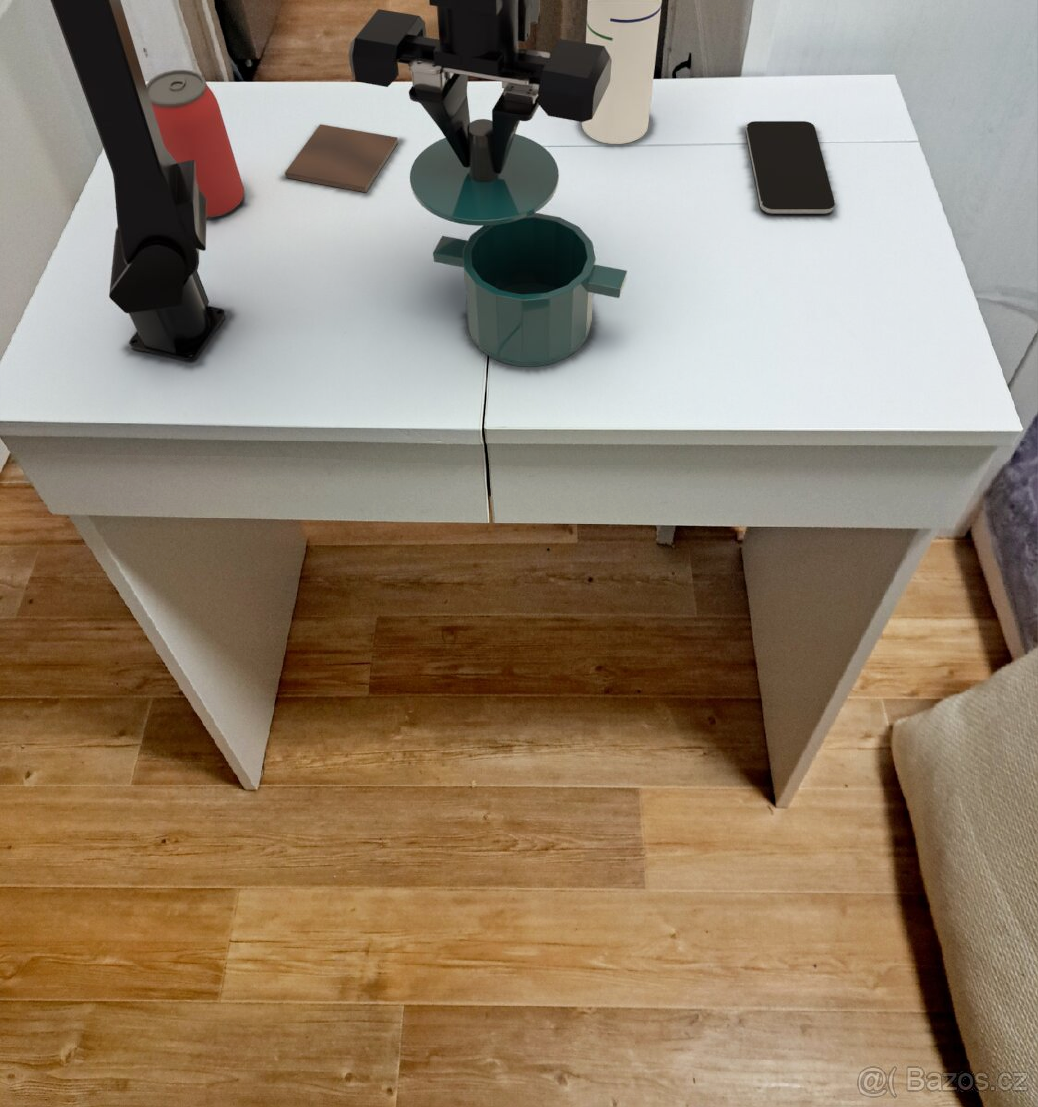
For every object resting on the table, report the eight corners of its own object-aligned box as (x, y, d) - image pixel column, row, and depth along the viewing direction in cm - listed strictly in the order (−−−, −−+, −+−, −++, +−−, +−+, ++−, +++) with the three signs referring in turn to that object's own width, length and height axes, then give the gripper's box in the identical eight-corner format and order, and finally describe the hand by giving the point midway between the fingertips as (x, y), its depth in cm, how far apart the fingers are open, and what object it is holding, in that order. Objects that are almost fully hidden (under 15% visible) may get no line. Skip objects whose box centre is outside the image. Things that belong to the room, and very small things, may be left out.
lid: (533, 245, 72) (533, 187, 68) (388, 215, 74) (380, 158, 70) (575, 156, 78) (578, 98, 74) (441, 131, 81) (436, 74, 76)
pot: (602, 384, 79) (608, 317, 73) (423, 346, 82) (413, 278, 76) (632, 300, 85) (639, 231, 78) (463, 266, 88) (458, 198, 81)
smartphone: (813, 120, 98) (837, 208, 90) (812, 126, 99) (835, 214, 91) (745, 120, 99) (762, 208, 90) (743, 126, 99) (760, 214, 91)
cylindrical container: (643, 147, 98) (673, -129, 77) (577, 140, 98) (588, -135, 77) (651, 109, 101) (682, -163, 80) (587, 102, 102) (601, -169, 81)
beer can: (253, 182, 95) (220, 67, 85) (236, 222, 92) (199, 108, 82) (191, 179, 96) (151, 64, 86) (172, 219, 92) (127, 104, 82)
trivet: (366, 192, 94) (365, 187, 94) (285, 177, 96) (284, 172, 95) (398, 142, 99) (397, 137, 98) (321, 129, 100) (320, 124, 100)
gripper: (639, -75, 65) (620, 132, 78) (392, -110, 68) (413, 95, 81) (597, 1, 59) (584, 212, 72) (329, -40, 62) (363, 168, 75)
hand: (484, 167), depth 75 cm, fingers closed on lid, 2 cm apart
